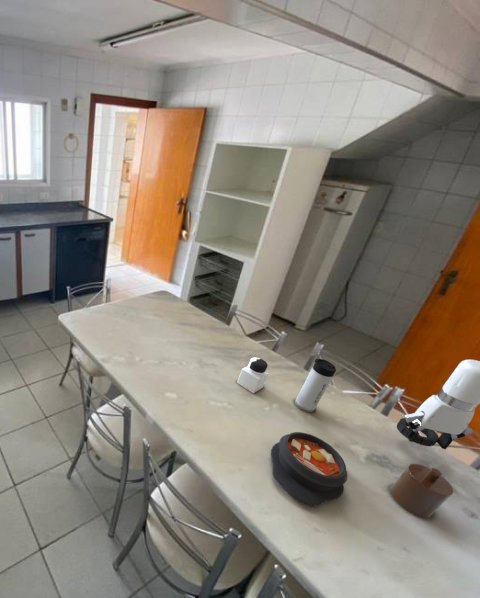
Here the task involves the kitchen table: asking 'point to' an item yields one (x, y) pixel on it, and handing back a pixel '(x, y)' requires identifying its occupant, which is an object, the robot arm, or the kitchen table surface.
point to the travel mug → (315, 385)
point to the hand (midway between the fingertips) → (424, 441)
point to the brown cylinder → (421, 490)
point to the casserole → (308, 468)
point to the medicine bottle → (254, 375)
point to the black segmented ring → (421, 440)
